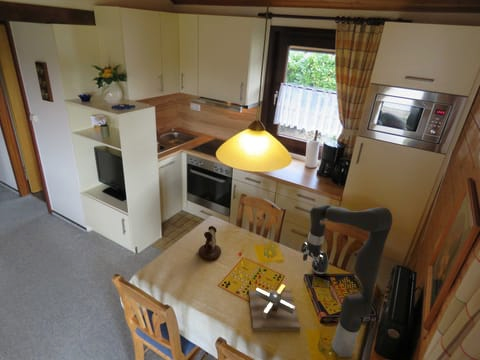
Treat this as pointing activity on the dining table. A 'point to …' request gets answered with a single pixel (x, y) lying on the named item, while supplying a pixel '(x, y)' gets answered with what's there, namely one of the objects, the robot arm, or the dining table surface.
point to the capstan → (274, 301)
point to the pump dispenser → (325, 265)
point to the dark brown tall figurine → (210, 245)
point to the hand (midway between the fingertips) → (310, 264)
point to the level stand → (272, 313)
